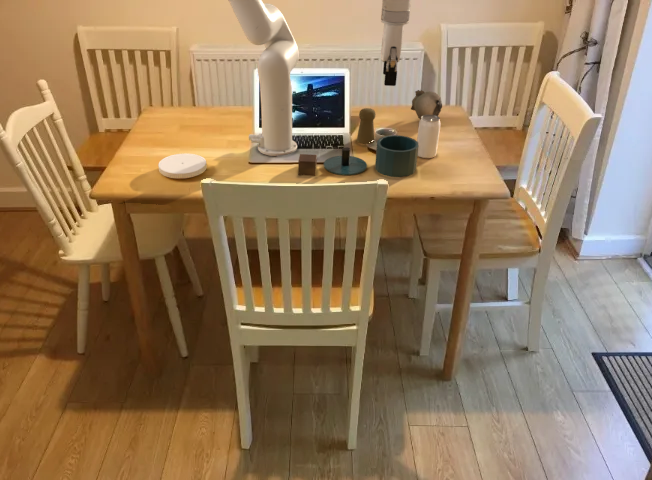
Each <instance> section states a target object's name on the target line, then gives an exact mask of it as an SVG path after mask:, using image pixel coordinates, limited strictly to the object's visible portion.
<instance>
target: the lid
mask: <svg viewBox="0 0 652 480" xmlns="http://www.w3.org/2000/svg"><path fill="white" fill-rule="evenodd" d="M323 168H324V169H325V171H327V172H328V173H330V174H334V175H337V176H355V175H359V174H362V173H364V172H365V171H366V170H367V169H368V164H367V162H366V161H365V160H364V159H362V158H360V157H358V156H352V155H351V148H350V147H347V146H345V147H344V146H343V147H342V148H341V155H335V156H331V157H329V158H327V159H325V161H323Z"/></svg>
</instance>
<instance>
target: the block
mask: <svg viewBox="0 0 652 480" xmlns="http://www.w3.org/2000/svg"><path fill="white" fill-rule="evenodd" d="M317 160H318V155H317V154H311V153H310V154H309V153H307V154H306V153H300V154H299V157H298V161H297V162H298V165H297V166H298V167H297V168H298V170H297V173H298V176H309V177H316V175H317V169H318V168H317V165H318V161H317Z"/></svg>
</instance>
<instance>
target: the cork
mask: <svg viewBox="0 0 652 480" xmlns="http://www.w3.org/2000/svg"><path fill="white" fill-rule="evenodd" d="M358 117H359V120H360V121H359V125H358V130H357V136H356V142H357V143H359V144H362V145H372V144H373V143H375V141H373V142H371V141H372V140H375V126H374V125H375V123H374V120H375V118H376V111H375V109H373V108H371V107H370V108H369V107H365V108H364V107H363V108H362V109H360V110H359V113H358ZM369 142H370V143H369Z"/></svg>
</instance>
